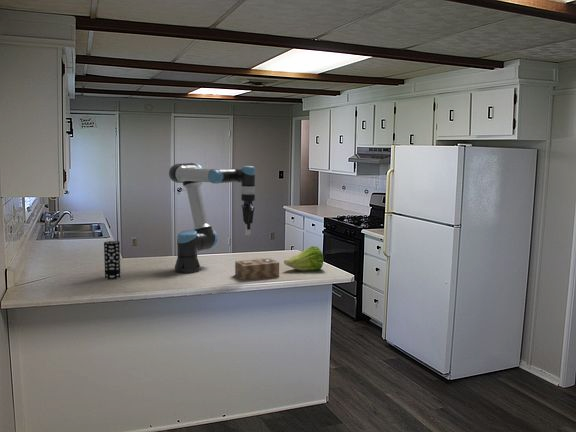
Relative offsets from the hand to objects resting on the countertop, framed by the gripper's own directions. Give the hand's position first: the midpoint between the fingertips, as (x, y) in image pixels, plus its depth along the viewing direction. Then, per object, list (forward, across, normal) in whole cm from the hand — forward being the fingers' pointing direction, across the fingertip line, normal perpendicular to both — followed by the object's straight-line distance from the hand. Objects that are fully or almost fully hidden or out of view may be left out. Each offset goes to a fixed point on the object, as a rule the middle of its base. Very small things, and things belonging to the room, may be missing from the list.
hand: (247, 234), depth 304 cm
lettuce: (+25, +2, -37) cm, 44 cm away
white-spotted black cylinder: (+25, +28, +70) cm, 79 cm away
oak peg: (+24, 0, 0) cm, 24 cm away
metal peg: (+24, 0, -12) cm, 27 cm away
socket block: (+24, 0, -6) cm, 25 cm away
